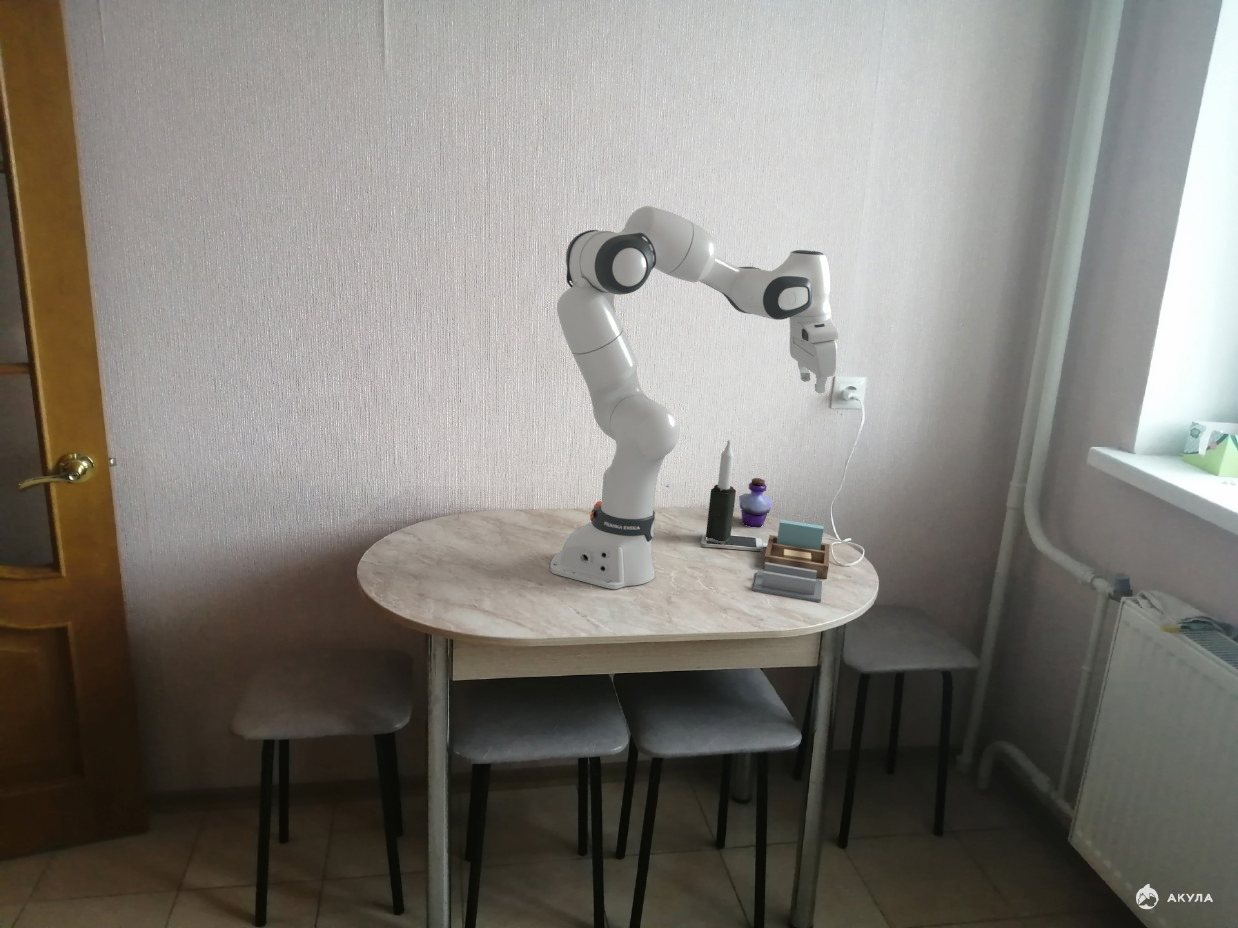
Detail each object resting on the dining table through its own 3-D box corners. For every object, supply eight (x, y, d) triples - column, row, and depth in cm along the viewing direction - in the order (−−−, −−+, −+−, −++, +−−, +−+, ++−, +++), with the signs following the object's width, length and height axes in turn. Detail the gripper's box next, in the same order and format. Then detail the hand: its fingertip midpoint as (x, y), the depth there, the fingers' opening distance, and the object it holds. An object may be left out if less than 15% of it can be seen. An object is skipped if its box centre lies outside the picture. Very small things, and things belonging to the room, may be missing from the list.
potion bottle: (771, 521, 229) (776, 477, 225) (768, 532, 221) (774, 486, 217) (737, 516, 230) (743, 472, 227) (734, 527, 222) (739, 481, 219)
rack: (763, 568, 198) (764, 556, 197) (768, 546, 211) (769, 534, 211) (826, 578, 195) (828, 566, 195) (827, 555, 208) (829, 544, 208)
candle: (731, 539, 214) (743, 440, 207) (723, 545, 210) (735, 444, 202) (711, 534, 216) (723, 435, 209) (703, 540, 212) (715, 440, 205)
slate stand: (753, 590, 186) (755, 575, 185) (757, 572, 196) (759, 557, 195) (820, 602, 183) (823, 586, 182) (821, 583, 193) (824, 568, 192)
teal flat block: (775, 554, 207) (779, 522, 205) (775, 551, 209) (780, 519, 207) (818, 561, 205) (823, 529, 203) (818, 558, 207) (823, 526, 205)
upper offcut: (783, 562, 199) (784, 554, 199) (783, 556, 202) (784, 549, 202) (810, 566, 198) (811, 558, 198) (809, 560, 201) (810, 552, 201)
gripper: (781, 318, 201) (784, 376, 206) (812, 337, 182) (814, 401, 187) (808, 314, 202) (810, 372, 207) (841, 333, 183) (843, 396, 188)
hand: (812, 386), depth 197 cm, fingers open, 8 cm apart
